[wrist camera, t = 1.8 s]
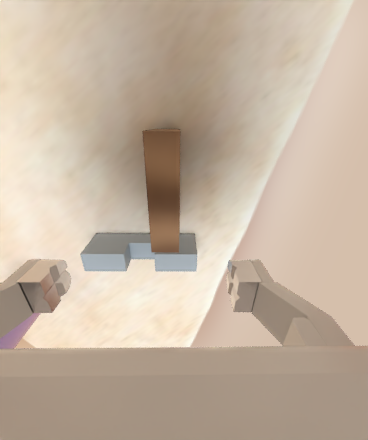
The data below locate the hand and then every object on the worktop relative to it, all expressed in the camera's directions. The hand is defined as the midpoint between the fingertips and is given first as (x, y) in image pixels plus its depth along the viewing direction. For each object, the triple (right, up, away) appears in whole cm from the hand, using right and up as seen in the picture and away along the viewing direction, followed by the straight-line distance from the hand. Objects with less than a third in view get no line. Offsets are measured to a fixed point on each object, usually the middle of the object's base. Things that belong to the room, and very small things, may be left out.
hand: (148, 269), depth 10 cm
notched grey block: (-4, -1, +22) cm, 23 cm away
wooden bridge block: (0, +9, +17) cm, 20 cm away
